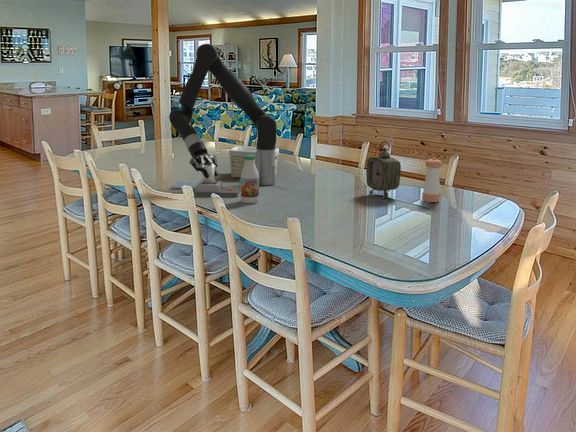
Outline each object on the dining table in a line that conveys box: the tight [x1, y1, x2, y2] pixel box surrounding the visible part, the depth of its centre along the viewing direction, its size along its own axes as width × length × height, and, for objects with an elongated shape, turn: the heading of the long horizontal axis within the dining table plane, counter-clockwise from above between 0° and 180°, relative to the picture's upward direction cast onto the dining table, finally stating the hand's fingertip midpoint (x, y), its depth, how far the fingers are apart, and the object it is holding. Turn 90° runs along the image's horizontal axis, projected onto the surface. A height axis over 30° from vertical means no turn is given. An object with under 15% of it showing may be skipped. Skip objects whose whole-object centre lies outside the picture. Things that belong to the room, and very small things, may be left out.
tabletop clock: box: [366, 140, 402, 200], centre depth 244 cm, size 14×9×25 cm, turn 24°
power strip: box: [192, 179, 241, 198], centre depth 246 cm, size 20×12×5 cm, turn 90°
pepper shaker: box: [421, 157, 443, 203], centre depth 238 cm, size 7×7×19 cm
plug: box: [203, 162, 217, 184], centre depth 245 cm, size 5×5×12 cm
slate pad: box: [170, 180, 200, 191], centre depth 260 cm, size 14×14×1 cm
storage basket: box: [228, 145, 280, 178], centre depth 286 cm, size 24×16×15 cm
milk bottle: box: [240, 155, 260, 205], centre depth 231 cm, size 8×8×20 cm
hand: (212, 176), depth 243 cm, fingers closed on plug, 4 cm apart
